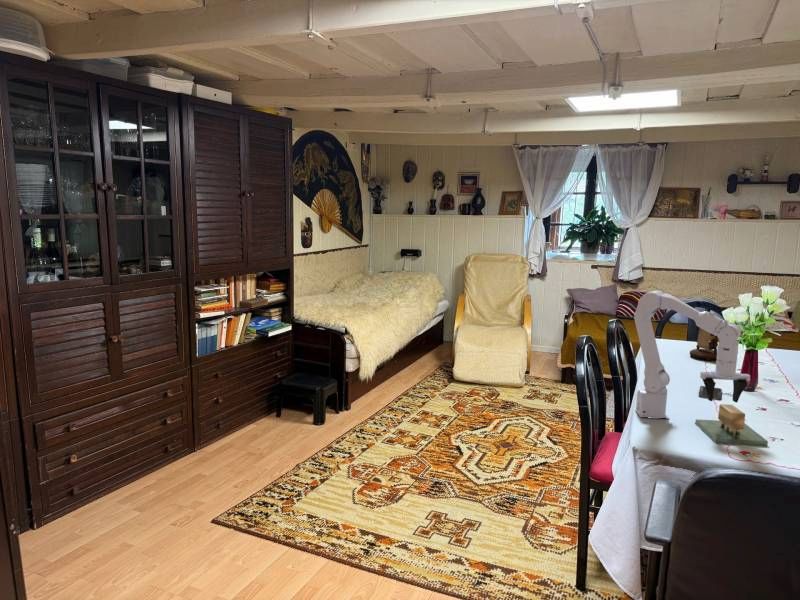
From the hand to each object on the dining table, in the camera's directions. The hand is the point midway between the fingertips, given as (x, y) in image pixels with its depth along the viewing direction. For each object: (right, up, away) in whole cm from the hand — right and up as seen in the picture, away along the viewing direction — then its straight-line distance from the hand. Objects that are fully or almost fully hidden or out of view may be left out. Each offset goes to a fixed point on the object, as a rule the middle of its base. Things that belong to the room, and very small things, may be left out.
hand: (722, 400), depth 188 cm
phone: (+18, -5, +40) cm, 44 cm away
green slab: (+1, -10, -3) cm, 11 cm away
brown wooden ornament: (+47, +4, +98) cm, 109 cm away
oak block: (+1, -7, -3) cm, 8 cm away
